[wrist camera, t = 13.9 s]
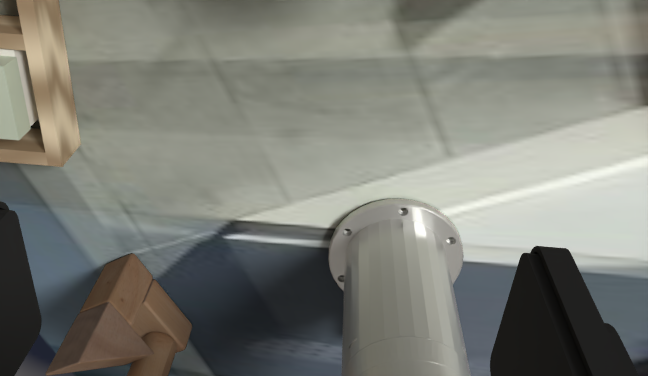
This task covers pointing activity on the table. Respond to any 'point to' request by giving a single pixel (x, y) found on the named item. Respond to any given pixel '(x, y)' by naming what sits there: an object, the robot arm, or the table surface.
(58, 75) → the frame
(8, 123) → the pale grey boxy piece
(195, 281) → the table surface
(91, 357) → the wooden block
